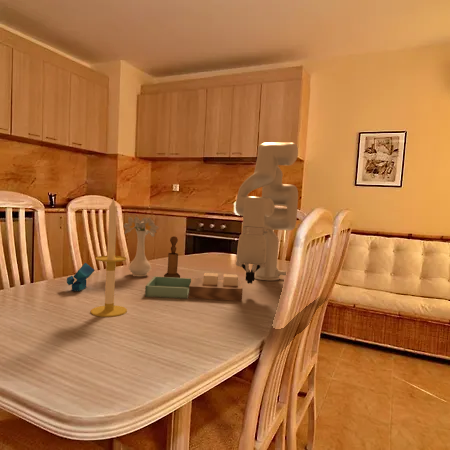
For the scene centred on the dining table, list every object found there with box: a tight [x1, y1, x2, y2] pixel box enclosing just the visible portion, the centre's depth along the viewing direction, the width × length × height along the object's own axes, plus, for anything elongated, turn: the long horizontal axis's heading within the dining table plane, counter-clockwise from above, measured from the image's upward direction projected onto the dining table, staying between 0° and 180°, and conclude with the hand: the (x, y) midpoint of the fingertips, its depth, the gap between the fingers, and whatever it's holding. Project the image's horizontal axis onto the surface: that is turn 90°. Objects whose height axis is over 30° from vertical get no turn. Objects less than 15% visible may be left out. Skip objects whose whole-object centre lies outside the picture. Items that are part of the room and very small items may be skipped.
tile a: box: [222, 273, 239, 286], centre depth 130 cm, size 5×5×3 cm
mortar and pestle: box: [163, 236, 181, 278], centre depth 148 cm, size 7×6×18 cm
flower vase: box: [123, 216, 160, 278], centre depth 155 cm, size 13×18×25 cm
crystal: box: [66, 262, 95, 292], centre depth 127 cm, size 7×9×12 cm
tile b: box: [203, 272, 219, 285], centre depth 130 cm, size 5×5×3 cm
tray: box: [144, 276, 192, 299], centre depth 130 cm, size 14×16×4 cm
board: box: [188, 277, 244, 302], centre depth 131 cm, size 18×14×4 cm
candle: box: [90, 197, 128, 318], centre depth 103 cm, size 10×10×32 cm
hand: (249, 282), depth 131 cm, fingers closed
